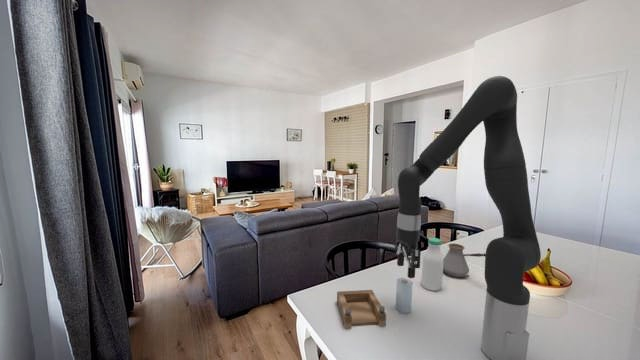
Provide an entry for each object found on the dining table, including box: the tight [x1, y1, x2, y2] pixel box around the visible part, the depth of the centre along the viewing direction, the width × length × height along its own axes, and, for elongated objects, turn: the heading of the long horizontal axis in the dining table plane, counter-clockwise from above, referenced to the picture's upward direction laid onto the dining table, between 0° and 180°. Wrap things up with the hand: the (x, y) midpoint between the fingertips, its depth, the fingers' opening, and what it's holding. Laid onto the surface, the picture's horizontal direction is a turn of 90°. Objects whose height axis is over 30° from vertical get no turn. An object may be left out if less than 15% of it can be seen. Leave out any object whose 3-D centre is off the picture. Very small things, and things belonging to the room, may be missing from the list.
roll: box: [395, 277, 414, 314], centre depth 90 cm, size 5×5×10 cm
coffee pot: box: [443, 243, 486, 278], centre depth 111 cm, size 21×12×15 cm, turn 22°
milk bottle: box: [420, 237, 444, 292], centre depth 104 cm, size 8×8×20 cm
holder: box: [336, 289, 387, 329], centre depth 87 cm, size 14×13×6 cm
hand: (405, 271), depth 89 cm, fingers open, 8 cm apart
